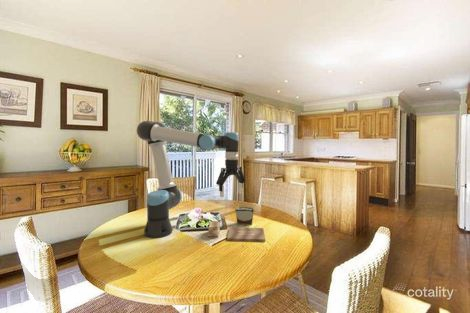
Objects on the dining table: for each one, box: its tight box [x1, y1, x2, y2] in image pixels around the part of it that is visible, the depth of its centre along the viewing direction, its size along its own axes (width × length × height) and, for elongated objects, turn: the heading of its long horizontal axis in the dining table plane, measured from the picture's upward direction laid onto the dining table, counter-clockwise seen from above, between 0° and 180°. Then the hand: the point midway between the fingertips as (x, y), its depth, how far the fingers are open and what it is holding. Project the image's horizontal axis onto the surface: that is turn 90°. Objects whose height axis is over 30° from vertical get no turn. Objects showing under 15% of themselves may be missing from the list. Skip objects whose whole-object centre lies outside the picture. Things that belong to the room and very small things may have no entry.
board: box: [226, 226, 266, 243], centre depth 133 cm, size 20×16×1 cm
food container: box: [234, 205, 255, 226], centre depth 153 cm, size 12×6×10 cm, turn 84°
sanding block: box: [208, 220, 221, 239], centre depth 134 cm, size 5×9×6 cm, turn 177°
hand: (231, 195), depth 140 cm, fingers open, 13 cm apart
